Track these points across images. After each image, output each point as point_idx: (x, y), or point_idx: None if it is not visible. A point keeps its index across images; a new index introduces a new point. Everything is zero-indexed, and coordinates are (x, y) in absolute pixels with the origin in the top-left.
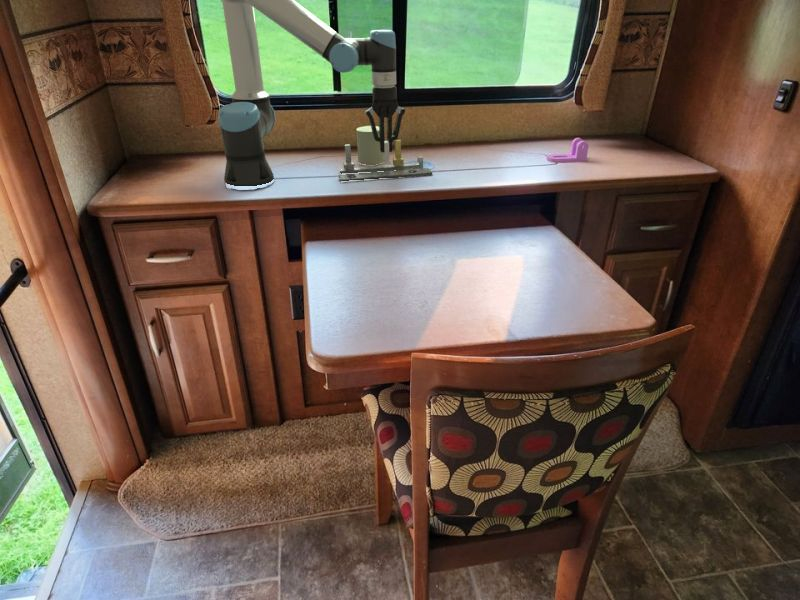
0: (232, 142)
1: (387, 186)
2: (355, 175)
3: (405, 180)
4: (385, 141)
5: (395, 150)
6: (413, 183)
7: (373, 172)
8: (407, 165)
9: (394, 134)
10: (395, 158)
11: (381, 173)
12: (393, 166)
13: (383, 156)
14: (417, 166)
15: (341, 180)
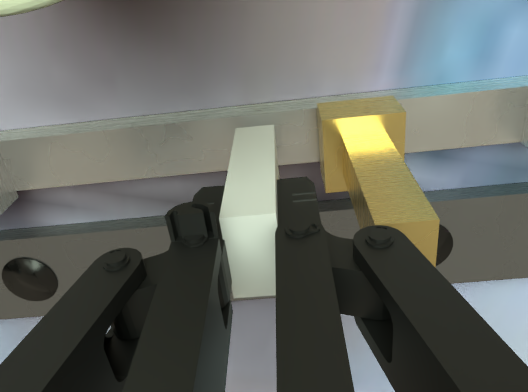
0: None
1: (239, 377)
2: (48, 272)
3: (346, 317)
4: (249, 236)
5: (354, 182)
6: (376, 359)
7: (161, 229)
8: (426, 141)
9: (372, 340)
10: (342, 145)
11: None
12: (312, 150)
13: (233, 145)
14: (501, 139)
15: None
